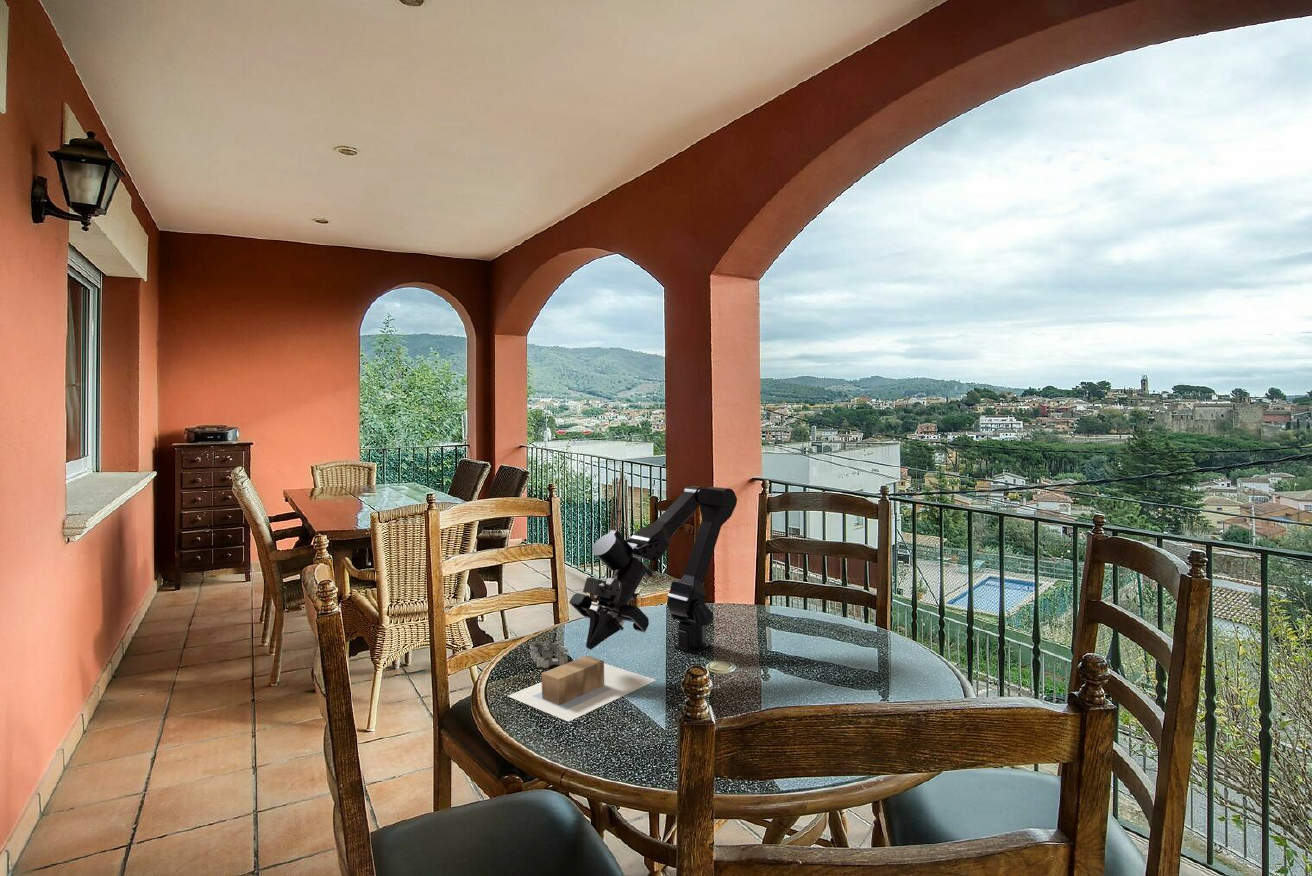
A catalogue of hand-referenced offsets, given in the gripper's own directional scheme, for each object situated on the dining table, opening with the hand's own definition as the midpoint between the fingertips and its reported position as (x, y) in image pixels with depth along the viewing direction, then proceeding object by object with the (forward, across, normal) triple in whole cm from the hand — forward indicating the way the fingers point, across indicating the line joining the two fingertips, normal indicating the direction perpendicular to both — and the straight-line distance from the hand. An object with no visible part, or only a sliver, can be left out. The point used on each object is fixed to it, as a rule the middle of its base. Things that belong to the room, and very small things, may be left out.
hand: (588, 648), depth 139 cm
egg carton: (+3, -18, +9) cm, 21 cm away
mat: (+7, 0, +5) cm, 8 cm away
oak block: (+2, 0, +5) cm, 5 cm away
